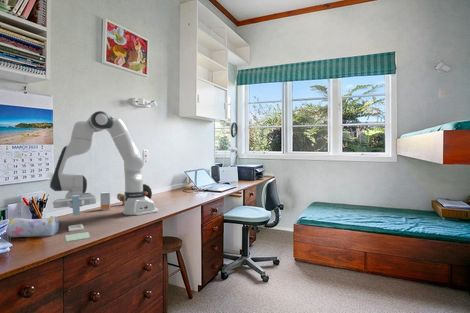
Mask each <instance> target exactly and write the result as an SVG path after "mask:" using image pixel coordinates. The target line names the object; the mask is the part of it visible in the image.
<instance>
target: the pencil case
mask: <svg viewBox="0 0 470 313" xmlns="http://www.w3.org/2000/svg"><path fill="white" fill-rule="evenodd" d="M60 227H61V223H60V222H59V219H58V217H57V216H49V217H44V218H35V219H33V218H32V219H31V218H24V217H18V216H17V217H13V218H12V219H10V220H9V221H8V223H7V227H6V233H7V232H8V234H7V236H9V237H10V238H22V237H24V238H29V237H52V236H54V235H56V234H57V233H58V232H59V230H60Z"/></svg>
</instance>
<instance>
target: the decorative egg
mask: <svg viewBox="0 0 470 313" xmlns="http://www.w3.org/2000/svg"><path fill="white" fill-rule="evenodd" d="M143 191H145V192H148V195H146V197H148V198H149V199H151V200H152V195H153V192H152V188H151V187H150V186H149V185H147V184H145V183H143Z"/></svg>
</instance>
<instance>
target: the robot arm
mask: <svg viewBox="0 0 470 313" xmlns="http://www.w3.org/2000/svg"><path fill="white" fill-rule="evenodd" d="M104 130H105V131H107V132H108V133H109V135H110V137H111V138H112V140H113V141H112V142H113V143H114V145H115V147H116V150H117V151H118V153H119V155H120V156H121V158H122V160H123V166H124V167H123V168H124V187H125V188H124V193H123V195H124V199H125V205H123V206H124V208H123V211H122V214H124V215H127V216H141V215H147V214H152V213H157V212H159V208H158V207H156V204H155V202H154V200H152V198H151V199H149V198H148V197H146V195H148V192H145V191H143V184H144V181H143V180H144V179H143V171H142V170H143V168H144V167H143V166H144V164H145V161H144V158H143V156H142V154H141V153H140V151H139V149H138V147H137V145H136V143H135V141H134V140H133V137H132V135H131V133H130V131H129V129H128V127H127V126H126V124H125V123H124V121H123V120H122V118H119V117H112V116H111V115H109V114H108V113H107V112H105V111H101V110H99V111H95V112H94V113H92V114H91V115H90V116H89V118H88V119H87V120H86V121H85V120H80V121H76V122H75V123H74V126H73V128H72V131H71V136H70V141H69V143H68V144H67V145H65V146H64V147H63V148H62V150H61V153H60V155H59V157H58V160H57V162H56V166H55V169H54V172H53V174H52V176H51V177H50V180H49V188H50V189H52V190H53V191H54V192H64V191H65V192H66V194H65V197H64V198H58V199H55V200H54V201H53V202H52V204H53V209H61V208H71V209H73V203H72V195H79V204H80V208H81V207H84V206H88V205H96V204H97V197H96V196H95V195H94V194H92V193H91V192H86V191H87V188H88V181H87V179H86V177H85V176H84V175H80V174H66V173H63V172H64V169H65V166H66V162H67V161H68V159H70V158H72V157H74V156H80V155H83V154H85V153H88V151H90V149H91V147H92V141H93V135H94V133H95V132H96V133H97V132H101V131H104Z"/></svg>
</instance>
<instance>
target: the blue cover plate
mask: <svg viewBox="0 0 470 313" xmlns="http://www.w3.org/2000/svg"><path fill="white" fill-rule="evenodd" d="M72 203H73V208H72V216H73V217H74V216H80V215H81V210H80V209H81V207H80V204H79V195H72Z"/></svg>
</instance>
